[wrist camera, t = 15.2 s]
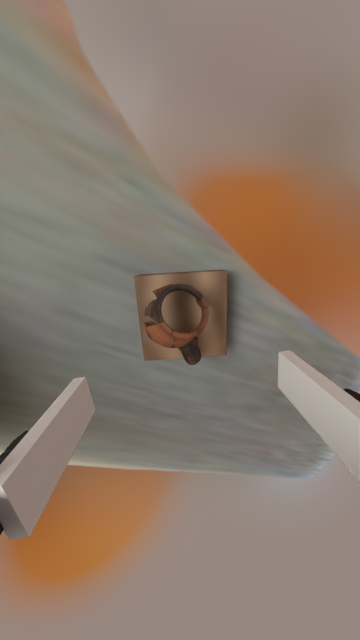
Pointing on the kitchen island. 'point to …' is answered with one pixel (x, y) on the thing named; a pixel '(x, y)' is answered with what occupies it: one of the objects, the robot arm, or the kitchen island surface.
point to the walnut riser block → (186, 310)
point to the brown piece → (166, 334)
